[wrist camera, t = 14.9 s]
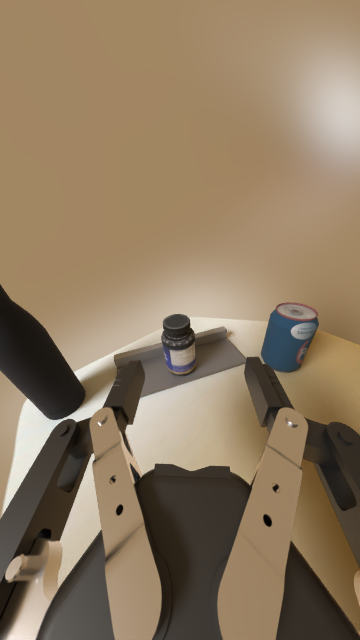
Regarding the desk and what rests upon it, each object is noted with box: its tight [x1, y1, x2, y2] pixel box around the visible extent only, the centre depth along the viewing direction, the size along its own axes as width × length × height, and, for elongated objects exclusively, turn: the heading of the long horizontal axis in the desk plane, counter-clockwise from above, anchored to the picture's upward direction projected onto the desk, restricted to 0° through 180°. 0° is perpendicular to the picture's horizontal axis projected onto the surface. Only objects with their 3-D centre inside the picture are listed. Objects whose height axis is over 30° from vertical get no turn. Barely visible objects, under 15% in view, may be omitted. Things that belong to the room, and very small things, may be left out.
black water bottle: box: [0, 285, 85, 420], centre depth 21 cm, size 6×6×30 cm
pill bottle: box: [161, 314, 196, 376], centre depth 31 cm, size 6×6×11 cm
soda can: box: [261, 303, 319, 373], centre depth 30 cm, size 7×7×12 cm
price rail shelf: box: [114, 327, 246, 398], centre depth 34 cm, size 26×10×3 cm, turn 107°
